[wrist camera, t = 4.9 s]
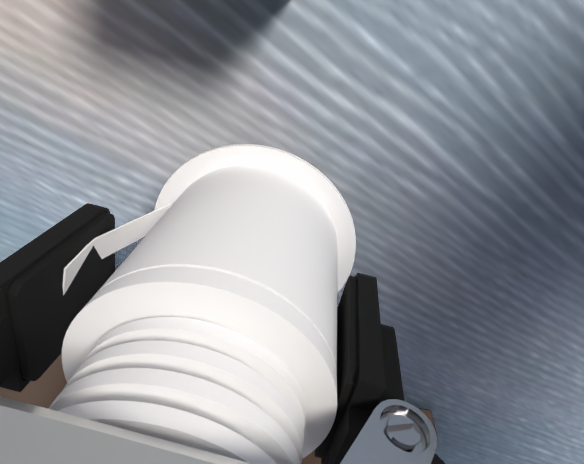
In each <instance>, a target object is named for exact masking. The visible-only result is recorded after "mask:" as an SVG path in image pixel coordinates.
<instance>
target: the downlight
mask: <svg viewBox="0 0 584 464" xmlns="http://www.w3.org/2000/svg"><path fill="white" fill-rule="evenodd" d="M143 237H144V238H143ZM141 238H143V239H142V241H141V242H140V243H139V244H138V245H137V246H136V248H135V249H134V250H133V251H132V252H131V253H130V254H129V256H128V257H127V258H126V259H125V260H124V261H123V263H122V264H121V265H120V266H119V267H118V268H117V270H116V271H115V272H114V273H113V274H112V275H111V276H110V278H109V279H108V280H107V281H106V282H105V283H104V285H103V286H102V287H101V288H100V289H99V290H98V292H97V293H96V294H95V295H94V296H93V297H92V299H91V300H90V301H89V302H88V303H87V304H86V305H85V306H84V308H83V309H82V310H81V311H80V312H79V313H78V314H77V316H76V317H75V318H74V320H73V321H72V322H71V324H70V326H69V328H68V330H67V331H66V334H65V337H64V340H63V346H62V366H63V371H64V375H65V379H66V381H67V384H66V385H65V387H64V389H63V390H62V392H61V393H60V394H59V395H58V396H57V397H56V399H55V400H54V401H53V403H52V404H51V406H50V407H49V408H48V409H51V410H55V411H59V412H63V413H66V414H70V415H74V416H78V417H81V418H85V419H89V420H93V421H96V422H100V423H104V424H107V425H111V426H115V427H119V428H122V429H126V430H130V431H133V432H137V433H141V434H145V435H148V436H152V437H156V438H160V439H163V440H167V441H171V442H174V443H178V444H182V445H185V446H189V447H192V448H196V449H200V450H203V451H207V452H211V453H214V454H218V455H222V456H225V457H229V458H233V459H236V460H240V461H244V462H247V463H251V464H302V459H303V458H304V457H306V456H307V455H309V454H310V453H311V452H313V451H314V450H315V449H316V448H317V447H318V446H319V445H320V444H321V443H322V442H323V440H324V439H325V438H326V437H327V435H328V433H329V432H330V430H331V428H332V425H333V423H334V420H335V416H336V411H337V294H338V292H339V291H340V290H341V289H342V287H343V286H344V284H345V282H346V281H347V279H348V277H349V275H350V273H351V270H352V267H353V263H354V259H355V252H356V235H355V227H354V223H353V219H352V216H351V213H350V211H349V208H348V206H347V204H346V202H345V200H344V199H343V197H342V195H341V194H340V192H339V191H338V190H337V188H336V187H335V186H334V184H333V183H332V182H331V181H330V180H329V179H328V178H327V177H326V176H325V175H324V174H323V173H321V172H320V171H319V170H318V169H317V168H315V167H314V166H312V165H311V164H310V163H308V162H306V161H305V160H303V159H301V158H299V157H297V156H295V155H293V154H291V153H289V152H286V151H283V150H280V149H277V148H273V147H268V146H263V145H255V144H235V145H227V146H222V147H218V148H214V149H211V150H208V151H206V152H203V153H201V154H199V155H197V156H195V157H193V158H192V159H190V160H189V161H187V162H186V163H185V164H183V165H182V166H181V167H180V168H179V169H178V170H177V171H176V172H175V173H174V174H173V175H172V176H171V177H170V178H169V180H168V181H167V182H166V184H165V185H164V187H163V189H162V190H161V192H160V195H159V197H158V199H157V202H156V206H155V210H154V211H153V212H151V213H148V214H146V215H144V216H142V217H140V218H137V219H135V220H133V221H131V222H129V223H127V224H124V225H122V226H120V227H118V228H116V229H114V230H111V231H109V232H107V233H105V234H103V235H100V236H98V237H96V238H94V239H93V240H92V241H91V242H90V243H89V244H87V245H86V246H85V247H84V248H83V249H82V251H81V252H80V253H79V254H78V255H77V256H76V257H75V258H74V259H73V260H72V261H71V262H70V263H69V264H68V265H67V266H66V267H65V268H64V274H63V285H62V286H63V296H64V294H65V293H66V291H67V289H68V288H69V286H70V284H71V282H72V281H73V279H74V277H75V276H76V274H77V272H78V271H79V269H80V267H81V266H82V264H83V262H84V260H85V259H86V257H87V255H88V254H89V252H90V250H91V249H92V247H93V245H94V247H95V249H96V250H97V252H98V254H99V255H100V257H101V259H103V258H105V257H107V256H109V255H111V254H113V253H115V252H116V251H118V250H120V249H122V248H124V247H126V246H128V245H130V244H132V243H134V242H135V241H137V240H139V239H141Z"/></svg>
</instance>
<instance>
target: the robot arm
mask: <svg viewBox="0 0 584 464" xmlns="http://www.w3.org/2000/svg"><path fill="white" fill-rule="evenodd" d="M114 229H115V218H114V215H112V214H110V211H109V209H107V208H105V207H101V206H97V205H93V204H85V205H84V206H82V207H81V208H79V209H78V210H76V211H75V212H74V213H72V214H71V215H69V216H68V217H66V218H65V219H63V220H62V221H60V222H59V223H57V224H56V225H55V226H53V227H52V228H50V229H49V230H47V231H46V232H44V233H43V234H41V235H40V236H38V237H37V238H35V239H34V240H33V241H31V242H30V243H28V244H27V245H25V246H24V247H22V248H21V249H19V250H18V251H16V252H15V253H14V254H12V255H11V256H9V257H8V258H6V259H5V260H3V261H2V262H0V387H2V388H6V389H9V390H13V391H17V392H21V391H22V390H23V389H24V388H25V387H26V386H27V385H28V383H29V382H30V381H36V380H38V379H39V378H40V377H41V376H42V375H43V374H44V372H45V371H46V370H47V369H48V368H49V367H50V366H51V364H52V363H53V362H54V361H55V360H56V359H57V358H58V356H59V355H60V354H61V353H62V346H63V340H64V337H65V334H66V331H67V330H68V328H69V326H70V324H71V322H72V321H73V320H74V318H75V317H76V316H77V314H78V313H79V312H80V311H81V310H82V309H83V308H84V306H85V305H86V304H87V303H88V302H89V301H90V300H91V299H92V297H93V296H94V295H95V294H96V293H97V292H98V290H99V289H100V288H101V287H102V286H103V285H104V283H105V282H106V281H107V280H108V279H109V278H110V276H111V275H112V274H113V273H114V272H115V253H113V254H111V255H109V256H107V257H105V258H103V259H101V257H100V255H99V254H98V252H97V250H96V249H95V247H94V245H93V247H92V249H91V250H90V252H89V254H88V255H87V257H86V259H85V260H84V262H83V264H82V266H81V267H80V269H79V271H78V272H77V274H76V276H75V277H74V279H73V281H72V282H71V284H70V286H69V288H68V289H67V291H66V293H65V294H64V296H63V286H62V285H63V274H64V268H65V267H66V266H67V265H68V264H69V263H70V262H71V261H72V260H73V259H74V258H75V257H76V256H77V255H78V254H79V253H80V252H81V251H82V249H83V248H84V247H85V246H86V245H87V244H89V243H90V242H91V241H92V240H93V239H94V238H96V237H98V236H100V235H103V234H105V233H107V232H109V231H111V230H114ZM437 442H438V440H437V435H436V431H435V429H434V427H433V425H432V423H431V421H430V420H429V419H428V418H427V416H426V415H425V414H424V413H423V412H422V411H420V410H419V409H418V408H417V407H415V406H413V405H412V404H410V403H408V402H405V401H404V396H403V388H402V381H401V373H400V366H399V358H398V351H397V343H396V336H395V330H394V328H393V327H389V326H386V325H382V324H380V313H379V302H378V290H377V279H376V277H372V276H368V275H364V274H361V273H357V274H356V276H355V277H353V276H349V277H348V280H347V283H346V286H345V288H344V291H343V294H342V297H341V300H340V303H339V306H338V308H337V411H336V416H335V420H334V423H333V425H332V428H331V430H330V432H329V433H328V435H327V437H326V438H325V439H324V440H323V442H322V443H321V444H320V445H319V446H318V447H317V448H316V449H315V453H314V454H315V457H318V458H321V464H445V463H444V462H443V461H442V460H441V459H440V458H439V457H438V456H437V455H436V454H435V452H436V448H437ZM0 464H251V463H247V462H244V461H240V460H236V459H233V458H229V457H225V456H222V455H218V454H214V453H211V452H207V451H203V450H200V449H196V448H192V447H189V446H185V445H182V444H178V443H174V442H171V441H167V440H163V439H160V438H156V437H152V436H148V435H145V434H141V433H137V432H133V431H130V430H126V429H122V428H119V427H115V426H111V425H107V424H104V423H100V422H96V421H93V420H89V419H85V418H81V417H78V416H74V415H70V414H66V413H63V412H59V411H55V410H51V409H48V408H44V407H40V406H36V405H32V404H29V403H25V402H21V401H17V400H13V399H9V398H6V397H2V396H0Z"/></svg>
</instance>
